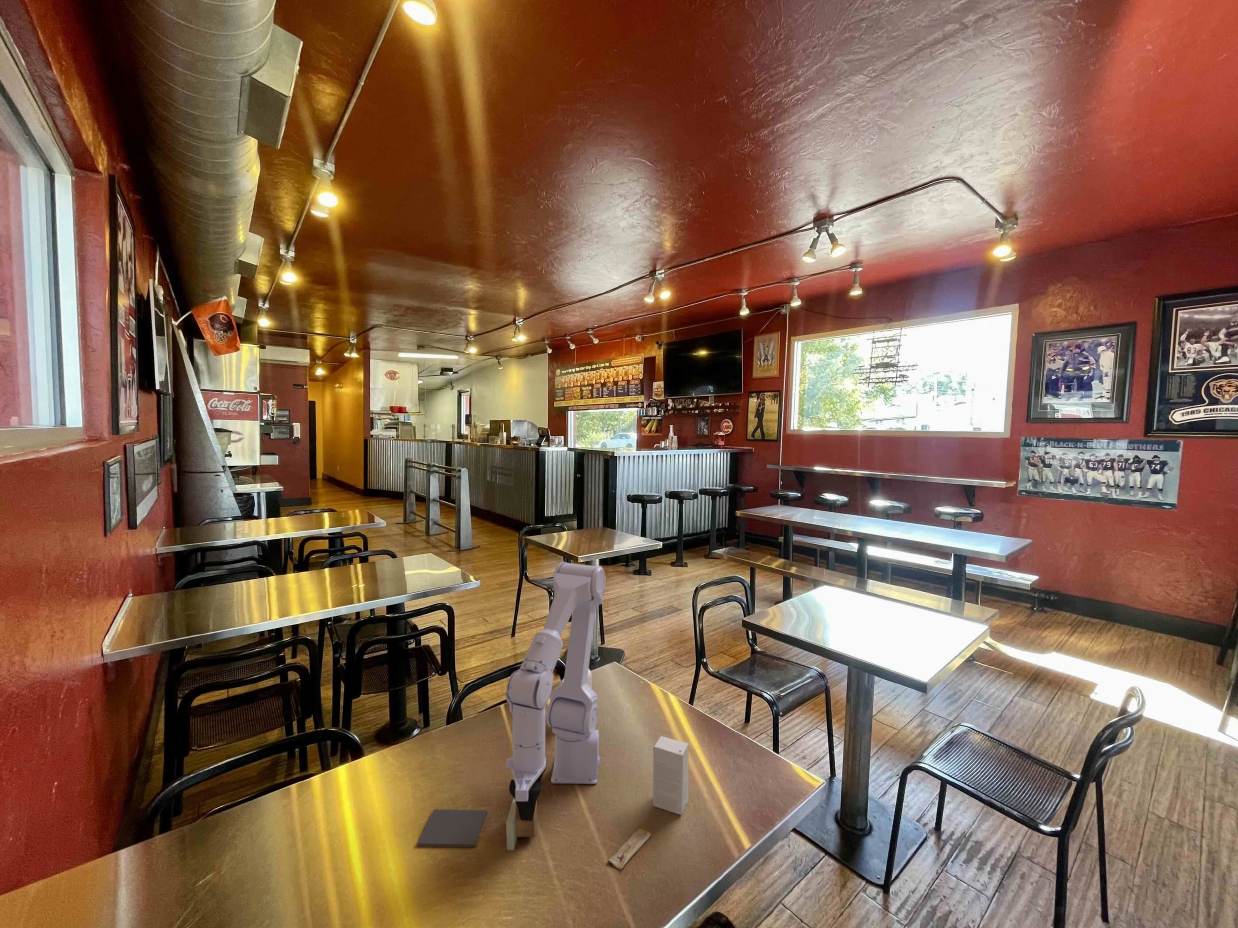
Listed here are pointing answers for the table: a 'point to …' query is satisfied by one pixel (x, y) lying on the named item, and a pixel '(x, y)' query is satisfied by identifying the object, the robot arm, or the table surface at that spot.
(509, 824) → the sage tile
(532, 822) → the oak push block
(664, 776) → the skincare box
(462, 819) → the mat
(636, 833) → the snack bar
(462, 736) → the table surface
